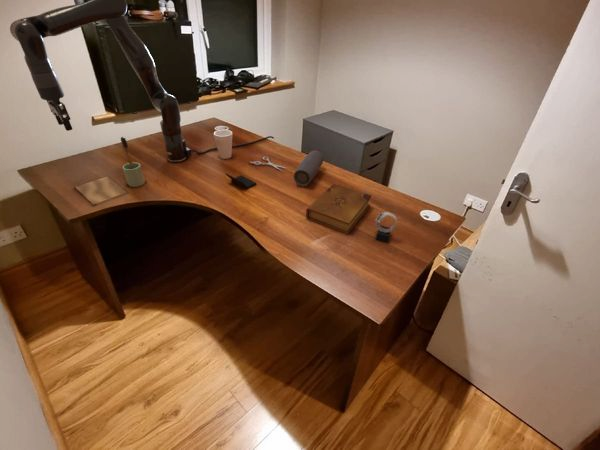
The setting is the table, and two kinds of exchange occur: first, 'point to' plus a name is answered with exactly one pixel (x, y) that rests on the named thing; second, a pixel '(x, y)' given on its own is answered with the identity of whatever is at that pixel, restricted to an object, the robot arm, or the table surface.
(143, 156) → the table surface
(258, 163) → the scissors
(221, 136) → the foam cup
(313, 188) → the table surface
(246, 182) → the dark angular piece
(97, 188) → the mat
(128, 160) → the brush
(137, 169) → the brush pot
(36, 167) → the table surface
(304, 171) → the bluetooth speaker
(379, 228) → the watch
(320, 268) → the table surface
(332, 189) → the diary
